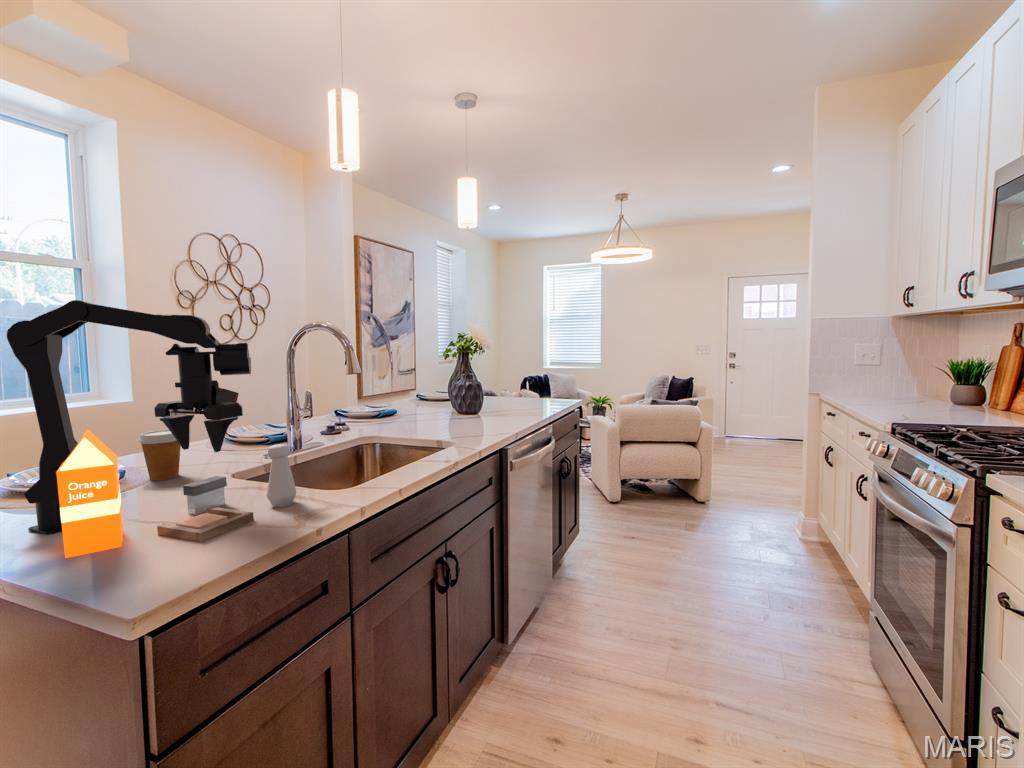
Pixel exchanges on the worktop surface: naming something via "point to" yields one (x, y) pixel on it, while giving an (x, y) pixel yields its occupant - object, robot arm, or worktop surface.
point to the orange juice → (90, 498)
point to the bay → (234, 521)
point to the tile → (202, 521)
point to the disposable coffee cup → (161, 454)
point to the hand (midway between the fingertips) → (201, 450)
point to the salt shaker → (280, 477)
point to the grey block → (205, 494)
